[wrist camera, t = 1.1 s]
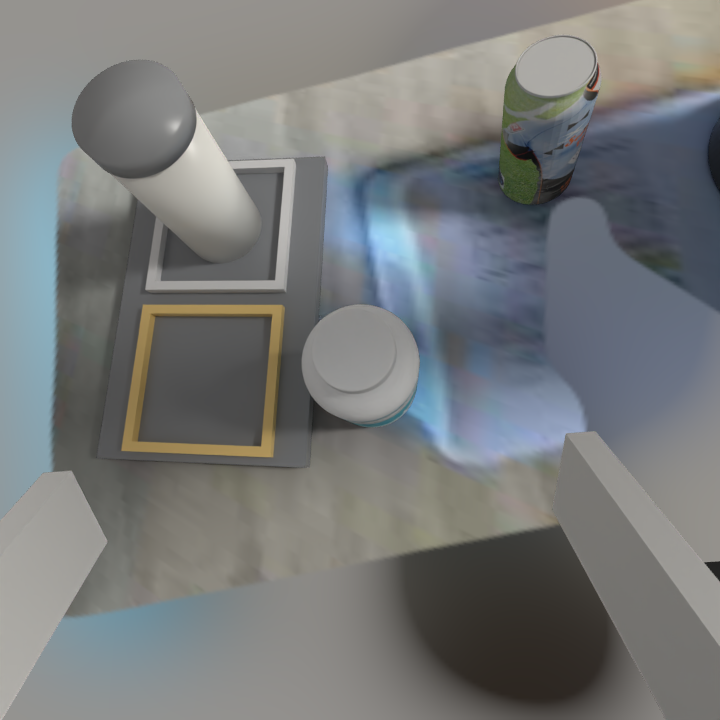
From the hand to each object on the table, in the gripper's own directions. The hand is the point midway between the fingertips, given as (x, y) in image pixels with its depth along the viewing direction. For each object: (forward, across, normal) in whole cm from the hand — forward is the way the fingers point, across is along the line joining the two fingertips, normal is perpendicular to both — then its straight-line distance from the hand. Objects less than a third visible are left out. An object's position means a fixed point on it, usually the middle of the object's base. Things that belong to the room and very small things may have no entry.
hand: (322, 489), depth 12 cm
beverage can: (+33, +17, +4) cm, 37 cm away
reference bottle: (+32, -11, +2) cm, 34 cm away
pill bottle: (+23, +2, -10) cm, 25 cm away
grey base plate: (+29, -11, -4) cm, 31 cm away
